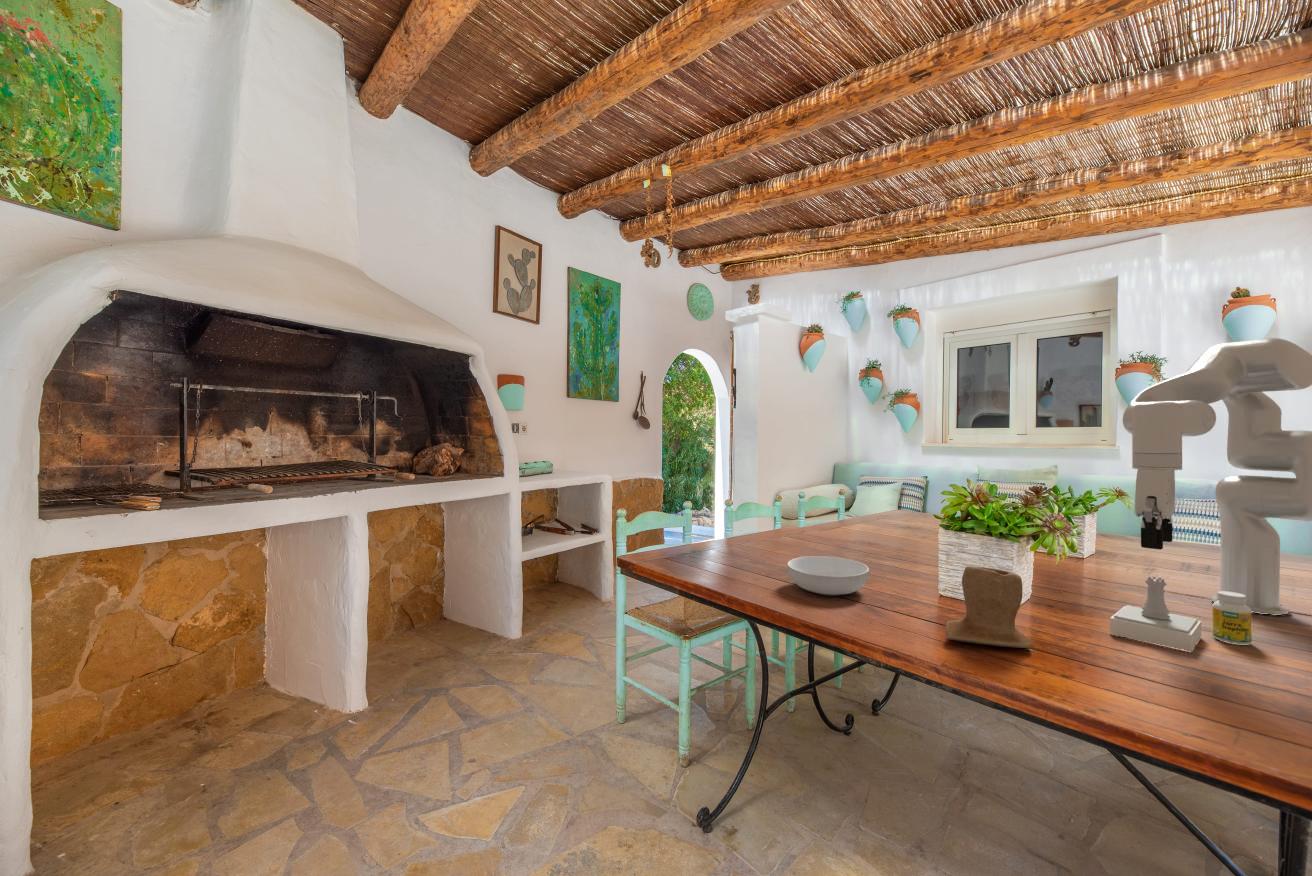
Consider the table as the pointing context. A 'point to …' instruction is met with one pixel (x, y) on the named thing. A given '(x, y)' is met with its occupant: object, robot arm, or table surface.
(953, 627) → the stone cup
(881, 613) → the table surface
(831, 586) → the serving bowl
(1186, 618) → the plinth
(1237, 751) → the table surface
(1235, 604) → the supplement bottle
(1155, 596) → the rook chess piece
